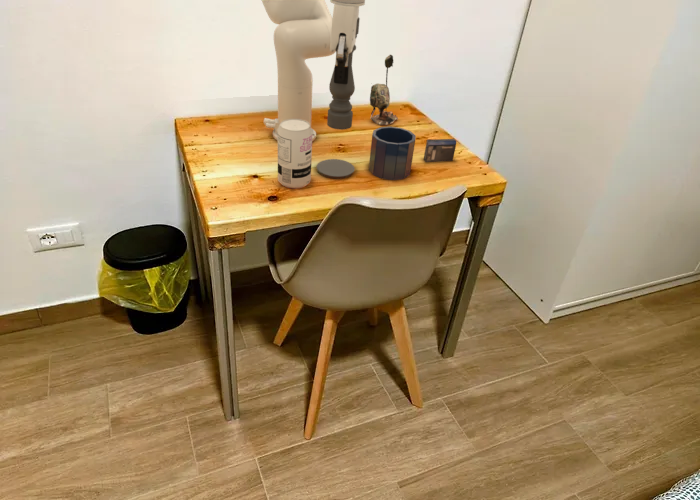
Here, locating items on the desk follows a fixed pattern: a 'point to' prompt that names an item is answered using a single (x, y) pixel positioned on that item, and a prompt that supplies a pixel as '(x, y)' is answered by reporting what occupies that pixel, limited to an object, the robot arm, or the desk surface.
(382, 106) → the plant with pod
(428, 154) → the mini dv tape
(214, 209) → the desk surface
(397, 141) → the crock
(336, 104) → the candle holder
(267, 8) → the robot arm
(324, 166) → the coaster
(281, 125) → the supplement can
